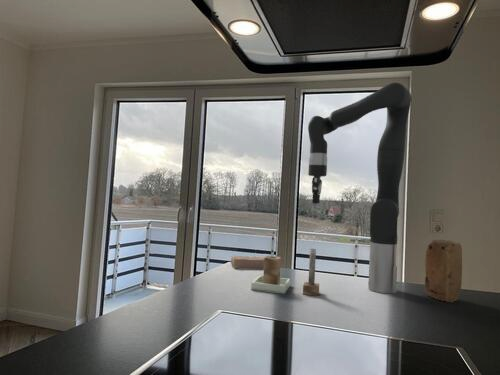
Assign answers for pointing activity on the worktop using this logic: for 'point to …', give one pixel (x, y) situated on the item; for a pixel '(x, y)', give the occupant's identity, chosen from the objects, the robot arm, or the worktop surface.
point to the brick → (247, 262)
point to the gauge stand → (311, 277)
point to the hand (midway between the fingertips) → (316, 203)
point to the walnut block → (272, 270)
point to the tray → (270, 285)
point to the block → (443, 270)
